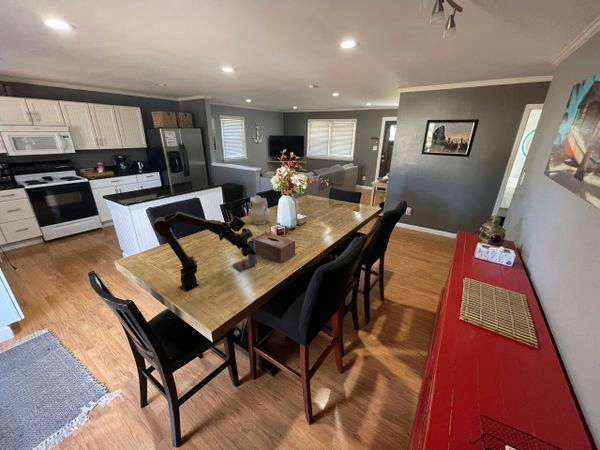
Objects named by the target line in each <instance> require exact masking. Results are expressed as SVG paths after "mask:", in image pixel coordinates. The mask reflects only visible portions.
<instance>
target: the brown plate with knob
mask: <svg viewBox="0 0 600 450" xmlns="http://www.w3.org/2000/svg"><path fill="white" fill-rule="evenodd" d="M255 266H256V264H255V265H249V262H248V258H246V259H245V258H242V259H241V260H240V261H237V262H235V263H232V267H233V268H235V269H236V270H237V271H239V272H244V271H245V270H248V269H251V268H253V267H255Z"/></svg>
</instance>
